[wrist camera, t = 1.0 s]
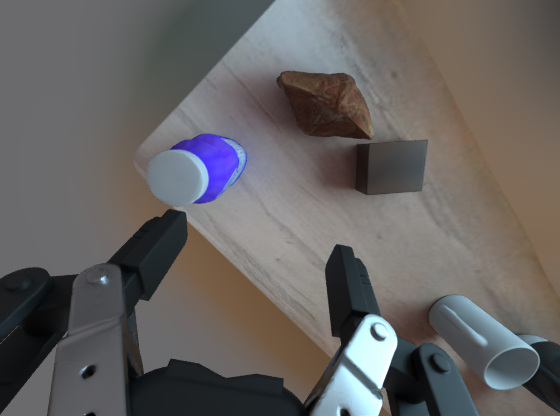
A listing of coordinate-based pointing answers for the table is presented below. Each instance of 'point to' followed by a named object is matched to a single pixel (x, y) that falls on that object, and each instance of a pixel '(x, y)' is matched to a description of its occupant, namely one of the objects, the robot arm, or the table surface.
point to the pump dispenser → (545, 371)
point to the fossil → (327, 104)
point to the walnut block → (391, 167)
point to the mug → (483, 343)
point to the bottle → (195, 170)
